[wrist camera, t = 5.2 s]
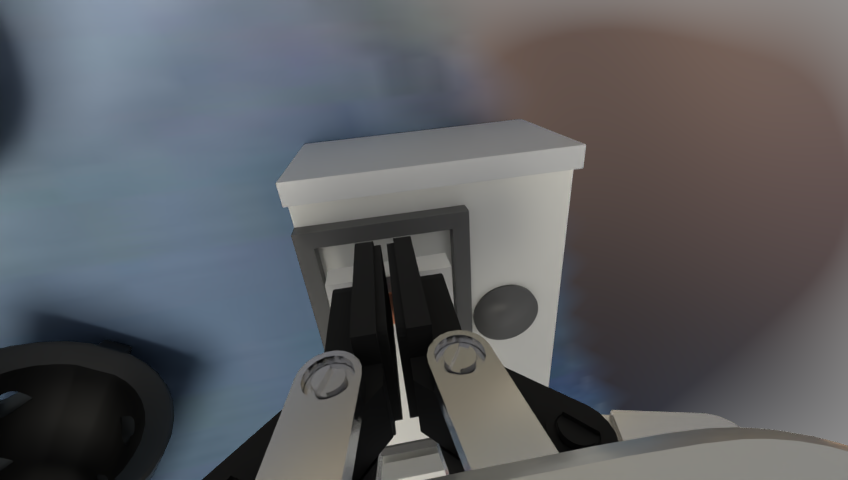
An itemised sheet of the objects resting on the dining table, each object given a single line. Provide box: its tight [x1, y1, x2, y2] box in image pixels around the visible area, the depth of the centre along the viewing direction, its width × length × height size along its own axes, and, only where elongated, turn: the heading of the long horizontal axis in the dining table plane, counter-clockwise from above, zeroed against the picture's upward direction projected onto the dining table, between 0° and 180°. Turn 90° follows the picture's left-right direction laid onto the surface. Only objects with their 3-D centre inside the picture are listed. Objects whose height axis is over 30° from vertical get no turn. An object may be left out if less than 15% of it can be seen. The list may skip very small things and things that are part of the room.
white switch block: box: [276, 119, 586, 464], centre depth 20 cm, size 26×10×6 cm, turn 5°
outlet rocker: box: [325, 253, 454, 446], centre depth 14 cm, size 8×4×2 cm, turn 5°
